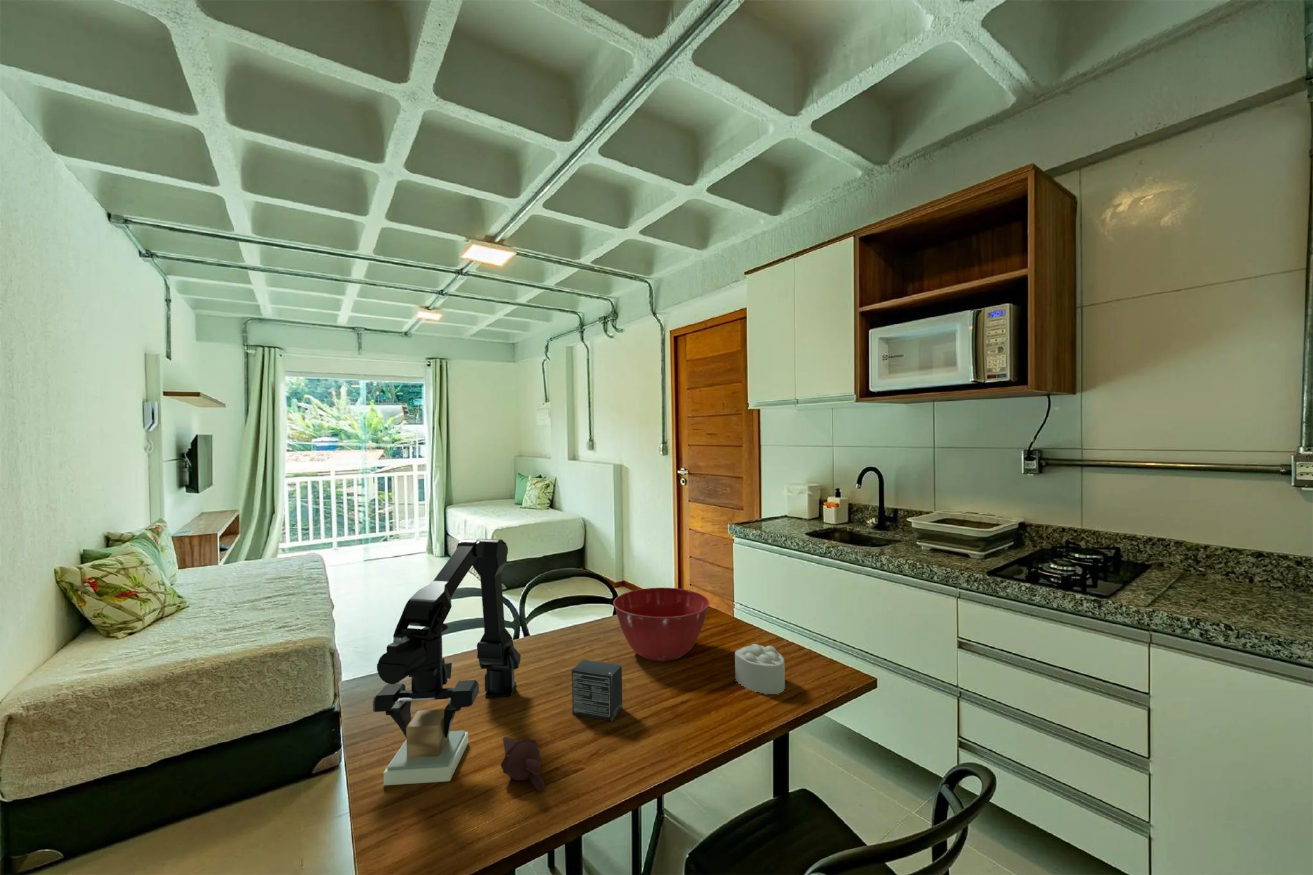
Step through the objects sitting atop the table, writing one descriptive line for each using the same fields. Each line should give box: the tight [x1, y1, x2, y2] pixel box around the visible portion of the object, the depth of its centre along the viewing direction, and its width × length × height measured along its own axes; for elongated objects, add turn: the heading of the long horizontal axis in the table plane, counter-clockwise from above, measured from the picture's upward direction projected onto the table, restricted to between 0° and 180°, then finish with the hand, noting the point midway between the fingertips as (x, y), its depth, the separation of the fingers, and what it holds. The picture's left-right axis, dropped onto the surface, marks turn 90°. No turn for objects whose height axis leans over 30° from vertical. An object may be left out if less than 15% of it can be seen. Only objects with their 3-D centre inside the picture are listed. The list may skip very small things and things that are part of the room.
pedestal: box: [383, 729, 469, 786], centre depth 102 cm, size 12×12×3 cm
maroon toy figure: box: [500, 736, 545, 792], centre depth 98 cm, size 7×7×15 cm
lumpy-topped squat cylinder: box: [734, 643, 786, 695], centre depth 133 cm, size 10×13×9 cm
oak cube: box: [405, 708, 449, 758], centre depth 102 cm, size 6×6×6 cm
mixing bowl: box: [612, 587, 710, 662], centre depth 153 cm, size 28×28×16 cm
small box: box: [571, 659, 623, 722], centre depth 121 cm, size 11×6×10 cm, turn 71°
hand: (428, 737), depth 102 cm, fingers open, 7 cm apart
